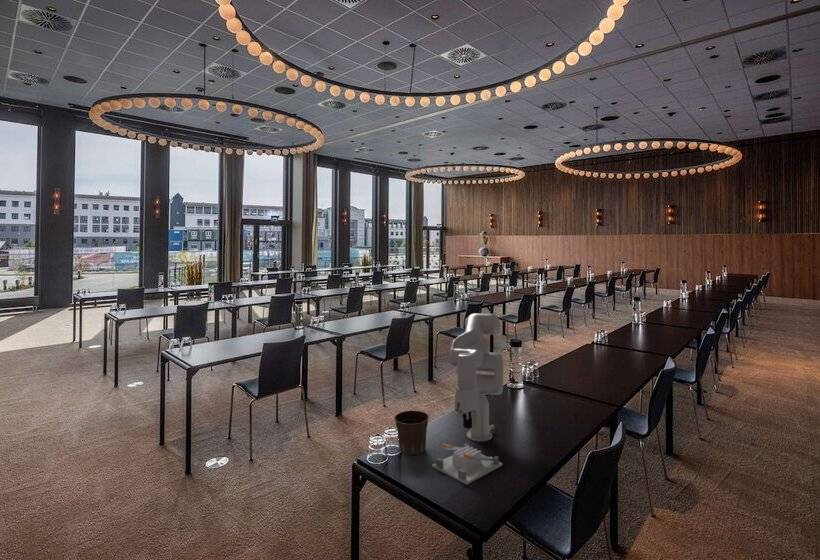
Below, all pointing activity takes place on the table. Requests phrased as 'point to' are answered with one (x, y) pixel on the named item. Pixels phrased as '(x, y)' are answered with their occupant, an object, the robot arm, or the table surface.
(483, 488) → the table surface
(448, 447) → the strap
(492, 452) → the table surface
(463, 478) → the cooler board
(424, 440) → the plant pot
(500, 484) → the table surface
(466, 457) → the strap
